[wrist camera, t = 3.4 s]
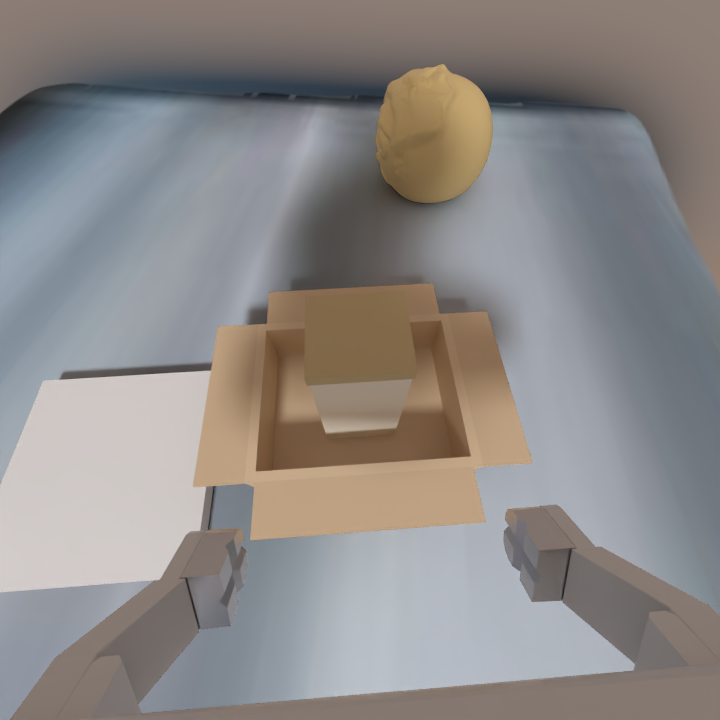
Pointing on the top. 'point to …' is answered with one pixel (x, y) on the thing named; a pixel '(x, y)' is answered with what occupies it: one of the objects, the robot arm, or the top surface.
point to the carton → (358, 454)
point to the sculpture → (433, 134)
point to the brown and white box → (359, 361)
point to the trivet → (103, 481)
